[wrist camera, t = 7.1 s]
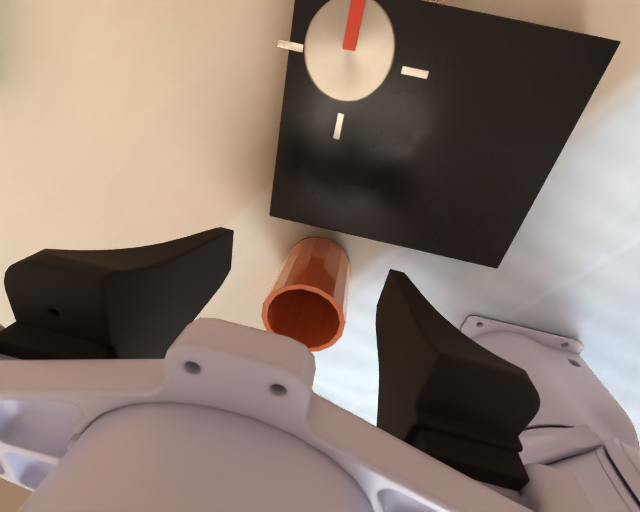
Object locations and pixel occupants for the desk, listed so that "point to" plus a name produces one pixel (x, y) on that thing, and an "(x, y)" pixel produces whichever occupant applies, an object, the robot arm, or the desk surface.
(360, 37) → the dial
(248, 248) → the desk surface
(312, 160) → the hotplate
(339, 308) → the cup
